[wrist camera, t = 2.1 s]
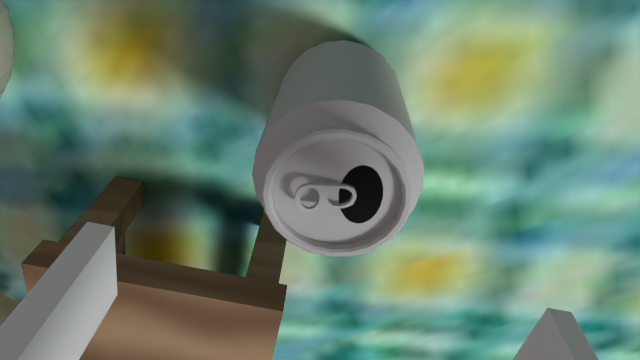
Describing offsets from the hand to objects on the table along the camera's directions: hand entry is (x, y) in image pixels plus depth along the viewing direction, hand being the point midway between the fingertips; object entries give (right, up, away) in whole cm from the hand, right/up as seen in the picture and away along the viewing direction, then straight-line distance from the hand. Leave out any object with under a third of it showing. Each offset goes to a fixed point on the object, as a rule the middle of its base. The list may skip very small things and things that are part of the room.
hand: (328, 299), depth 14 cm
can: (+1, +9, +15) cm, 17 cm away
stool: (-10, -3, +22) cm, 25 cm away
